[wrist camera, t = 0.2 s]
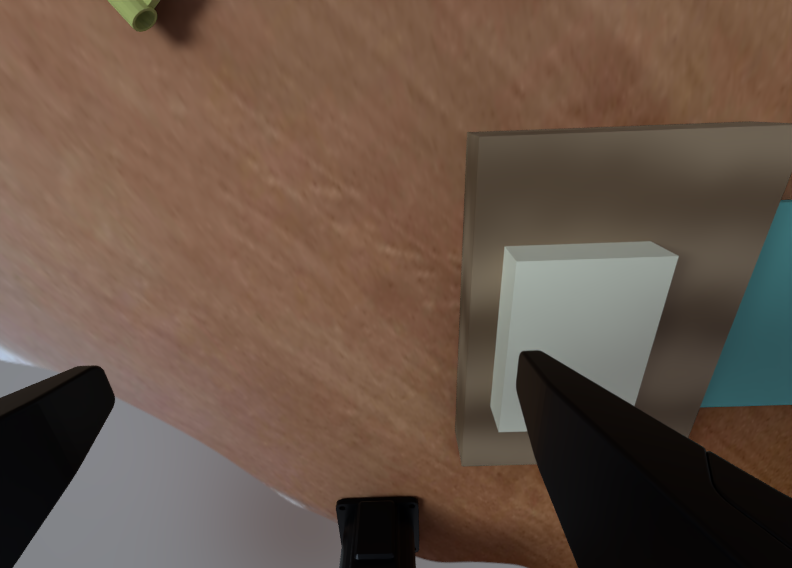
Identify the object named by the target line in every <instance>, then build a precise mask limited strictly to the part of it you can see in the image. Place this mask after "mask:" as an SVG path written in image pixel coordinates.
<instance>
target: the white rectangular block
mask: <svg viewBox="0 0 792 568" xmlns="http://www.w3.org/2000/svg"><path fill="white" fill-rule="evenodd" d="M678 257H679V256H678V255H676V254H674V253H672V252H670V251H668V250H666V249H664V248H663V247H661V246H659V245H657V244H655V243H653V242H651V241H644V242H615V243H586V244H557V245H529V246H505V247H504V259H503V270H502V281H501V292H500V303H499V315H498V326H497V337H496V348H495V359H494V371H493V382H492V393H491V404H490V407H491V410H492V413H493V416H494V419H495V422H496V426H497V429H498V432H526V431H527V428H526V425H525V421H524V417H523V414H522V410H521V406H520V403H519V399H518V395H517V391H516V377H517V368H518V359H519V355H520V353H521V352H522V351H527V350H540V351H543V352H544V353H546V354H548V355H549V356H551V357H553V358H554V359H556V360H558V361H559V362H561V363H563V364H564V365H566V366H568V367H569V368H571V369H573V370H575V371H576V372H578V373H580V374H581V375H583V376H585V377H586V378H588V379H590V380H591V381H593V382H595V383H596V384H598V385H600V386H601V387H603V388H605V389H606V390H608V391H610V392H612V393H613V394H615V395H617V396H618V397H620V398H622V399H623V400H625V401H627V402H628V403H630V404H632V405H633V406H635V402H636V399H637V396H638V392H639V389H640V386H641V382H642V379H643V375H644V372H645V369H646V365H647V362H648V359H649V355H650V352H651V348H652V345H653V342H654V338H655V335H656V331H657V328H658V325H659V321H660V318H661V315H662V311H663V308H664V304H665V301H666V298H667V294H668V291H669V287H670V284H671V281H672V277H673V274H674V271H675V267H676V264H677V260H678Z"/></svg>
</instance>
